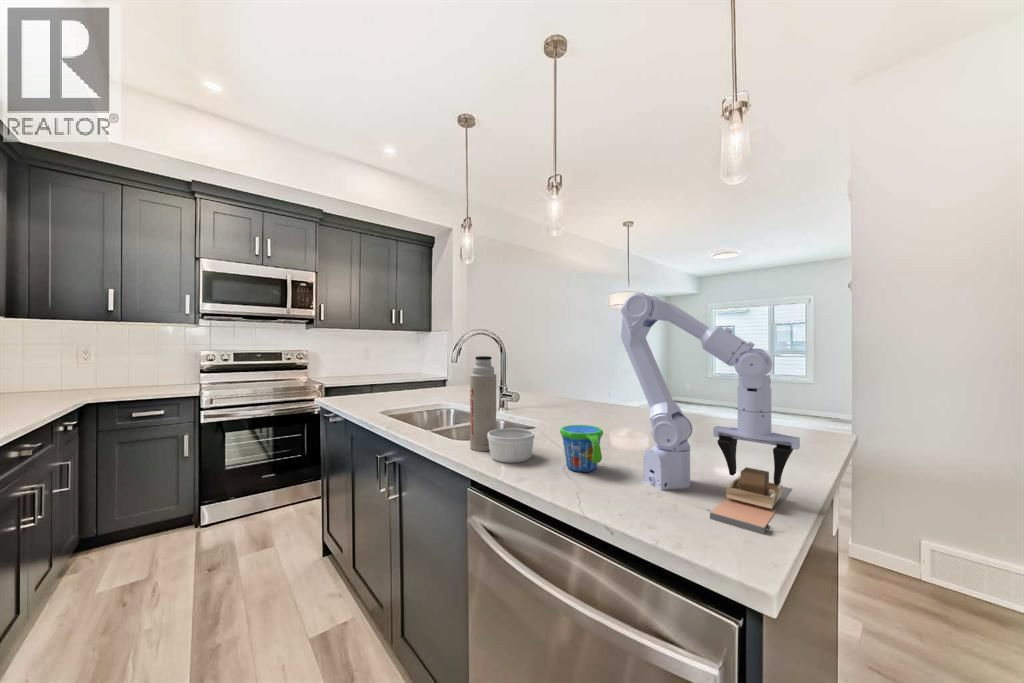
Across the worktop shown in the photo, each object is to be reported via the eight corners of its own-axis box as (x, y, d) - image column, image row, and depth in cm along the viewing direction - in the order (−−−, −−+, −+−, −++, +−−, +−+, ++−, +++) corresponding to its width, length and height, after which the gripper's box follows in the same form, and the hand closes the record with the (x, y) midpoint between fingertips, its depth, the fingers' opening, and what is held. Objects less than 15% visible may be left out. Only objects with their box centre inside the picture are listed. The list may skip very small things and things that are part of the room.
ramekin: (512, 448, 119) (512, 425, 119) (544, 457, 110) (544, 432, 110) (478, 457, 110) (478, 432, 110) (509, 468, 101) (509, 441, 101)
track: (763, 534, 66) (763, 528, 66) (709, 518, 72) (709, 512, 72) (792, 493, 83) (792, 488, 83) (747, 483, 89) (747, 478, 89)
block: (764, 497, 75) (764, 476, 75) (740, 491, 78) (740, 471, 78) (769, 491, 78) (768, 471, 78) (746, 486, 81) (746, 467, 81)
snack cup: (552, 460, 107) (552, 423, 107) (588, 458, 109) (588, 421, 109) (573, 480, 91) (573, 436, 91) (614, 477, 94) (614, 434, 94)
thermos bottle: (469, 451, 116) (469, 356, 116) (470, 444, 123) (470, 355, 124) (496, 450, 116) (496, 356, 116) (495, 444, 124) (495, 355, 124)
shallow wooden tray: (771, 511, 72) (771, 498, 72) (726, 499, 77) (726, 487, 77) (782, 497, 78) (782, 485, 78) (739, 487, 83) (739, 476, 83)
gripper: (802, 411, 75) (802, 482, 75) (720, 403, 86) (720, 465, 86) (795, 416, 70) (796, 492, 70) (709, 407, 81) (709, 473, 80)
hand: (754, 478), depth 78 cm, fingers open, 7 cm apart
